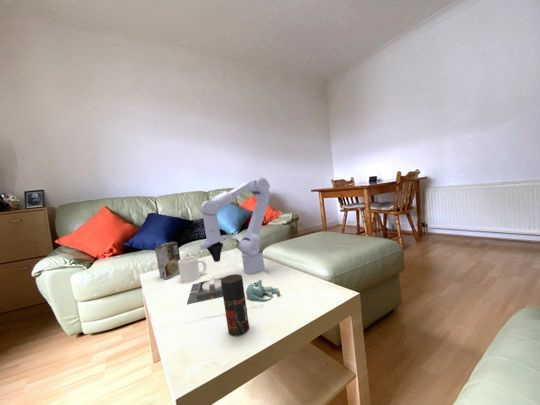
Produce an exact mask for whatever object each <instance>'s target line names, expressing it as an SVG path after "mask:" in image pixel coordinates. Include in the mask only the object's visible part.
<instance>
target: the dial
mask: <svg viewBox="0 0 540 405" xmlns="http://www.w3.org/2000/svg"><path fill="white" fill-rule="evenodd" d="M209 280H210V281H208V280H206V281H207V282H205V283H204V284H203V285H202V288H203V292H207V291H210V292H213V291H215V290H216V289H221V288H222V286H221V280H220V279H218V278H215V277H210V278H209Z"/></svg>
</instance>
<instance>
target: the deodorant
mask: <svg viewBox="0 0 540 405" xmlns="http://www.w3.org/2000/svg"><path fill="white" fill-rule="evenodd" d="M221 278H222V279H221V286H222V292H223V297H222V298H223V305H224V312H225V318H226V323H227V331H228V334H229V335H230V336H231V337H232V336H233V337H239V336H243V335H245V334H246V333H247V332H248V331H249V330H250V322H249V318H248V317H249V316H248V309H247V301H246V293H245V289H244V287H245V286H244V280H243V275H241V274H229V275H226V276H224V278H223V277H221Z"/></svg>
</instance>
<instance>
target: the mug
mask: <svg viewBox="0 0 540 405" xmlns="http://www.w3.org/2000/svg"><path fill="white" fill-rule="evenodd" d="M180 259H181V260H179V261H178V264H179V271H180V274H179V276H180V281H181V283H186V284H187V283H192V282H195V281H198V280H199V279H201V278H200V277H201V276H202V275H203V274H205V273H206V271H207V263H206V262H205V260H203V259H201V258H199V259H198V257H197V256H192V255H191V256H187V257H183V258H180ZM199 263H201V264H202V265H203V269H202V270H201V271H200V268H199V267H200V266H199Z"/></svg>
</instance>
